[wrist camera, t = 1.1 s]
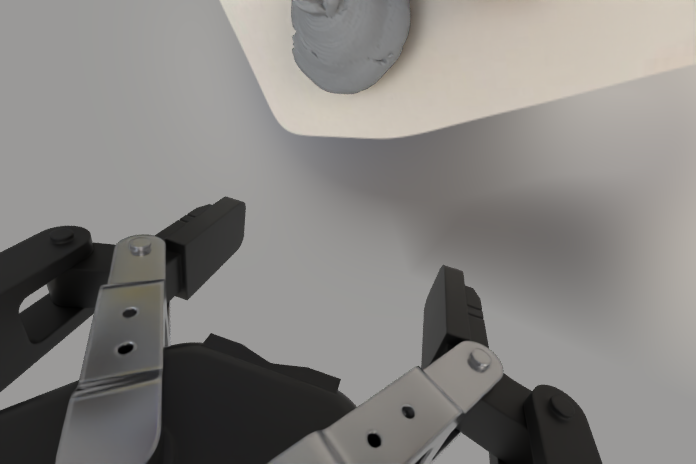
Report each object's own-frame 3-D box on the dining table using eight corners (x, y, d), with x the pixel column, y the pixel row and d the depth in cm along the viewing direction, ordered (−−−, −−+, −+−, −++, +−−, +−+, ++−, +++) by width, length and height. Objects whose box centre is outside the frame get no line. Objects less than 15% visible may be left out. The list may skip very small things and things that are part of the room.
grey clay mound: (304, -29, 33) (225, -88, 24) (423, -65, 28) (381, -158, 19) (314, 100, 37) (248, 91, 27) (423, 88, 32) (387, 71, 22)
